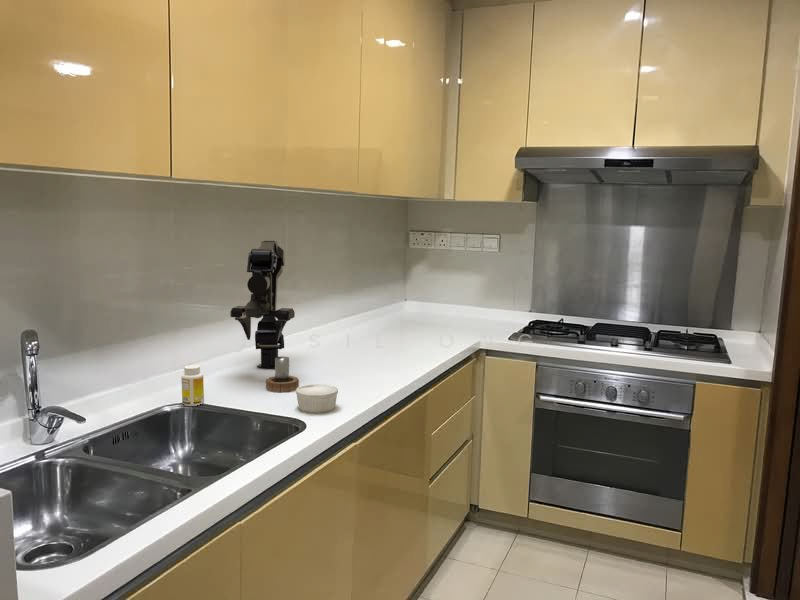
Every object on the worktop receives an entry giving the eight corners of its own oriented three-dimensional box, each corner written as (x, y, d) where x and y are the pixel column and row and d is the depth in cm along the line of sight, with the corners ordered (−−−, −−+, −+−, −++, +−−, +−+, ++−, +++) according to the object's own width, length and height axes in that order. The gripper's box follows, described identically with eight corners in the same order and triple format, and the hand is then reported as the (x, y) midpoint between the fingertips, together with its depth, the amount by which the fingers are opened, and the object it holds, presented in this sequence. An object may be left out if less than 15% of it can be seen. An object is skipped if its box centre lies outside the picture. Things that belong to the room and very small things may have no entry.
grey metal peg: (278, 385, 196) (278, 356, 195) (291, 386, 195) (291, 357, 194) (273, 389, 192) (272, 359, 191) (286, 390, 191) (285, 359, 190)
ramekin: (317, 399, 183) (317, 381, 182) (346, 408, 176) (347, 388, 175) (286, 408, 174) (286, 389, 174) (316, 417, 167) (316, 397, 166)
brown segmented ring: (273, 382, 199) (273, 374, 199) (302, 385, 197) (302, 376, 197) (261, 390, 190) (261, 382, 190) (291, 393, 188) (291, 384, 188)
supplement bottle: (205, 400, 180) (204, 364, 178) (201, 406, 174) (200, 369, 173) (184, 401, 179) (183, 364, 178) (180, 407, 174) (178, 369, 172)
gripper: (221, 292, 194) (222, 344, 197) (281, 295, 191) (282, 347, 193) (237, 287, 205) (238, 336, 207) (295, 290, 202) (295, 340, 204)
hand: (262, 340), depth 203 cm, fingers open, 9 cm apart
